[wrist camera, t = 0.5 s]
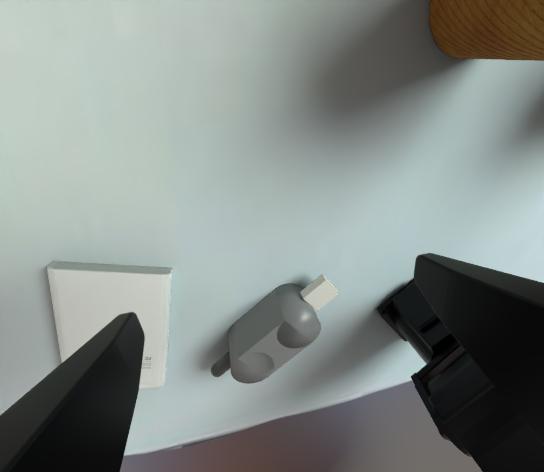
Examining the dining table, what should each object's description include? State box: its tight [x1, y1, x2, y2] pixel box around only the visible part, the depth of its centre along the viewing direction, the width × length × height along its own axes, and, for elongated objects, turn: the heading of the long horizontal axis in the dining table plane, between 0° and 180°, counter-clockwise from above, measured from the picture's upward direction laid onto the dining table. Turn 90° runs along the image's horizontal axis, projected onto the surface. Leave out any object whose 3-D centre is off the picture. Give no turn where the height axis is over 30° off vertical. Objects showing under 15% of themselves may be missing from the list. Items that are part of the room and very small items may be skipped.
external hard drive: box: [47, 261, 172, 389], centre depth 24 cm, size 2×8×12 cm
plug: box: [211, 274, 339, 383], centre depth 25 cm, size 14×4×4 cm, turn 131°
